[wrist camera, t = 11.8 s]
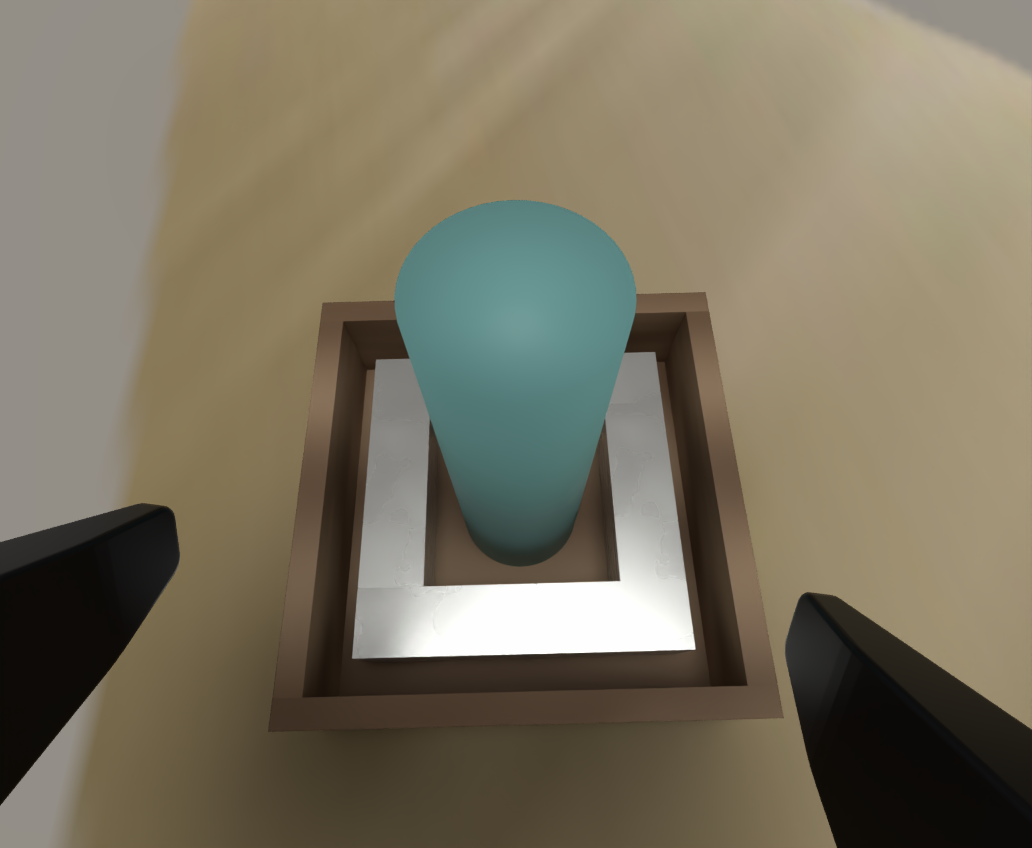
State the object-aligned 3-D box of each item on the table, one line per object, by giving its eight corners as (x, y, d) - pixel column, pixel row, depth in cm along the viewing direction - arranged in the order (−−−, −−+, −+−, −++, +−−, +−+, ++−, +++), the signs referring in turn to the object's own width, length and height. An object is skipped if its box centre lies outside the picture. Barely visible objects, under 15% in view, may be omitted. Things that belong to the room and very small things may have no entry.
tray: (730, 712, 20) (783, 717, 16) (320, 723, 20) (268, 731, 16) (676, 356, 26) (705, 292, 21) (354, 365, 26) (322, 302, 21)
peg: (579, 564, 21) (649, 395, 9) (464, 568, 21) (387, 403, 9) (571, 457, 23) (624, 197, 11) (465, 460, 23) (400, 203, 11)
